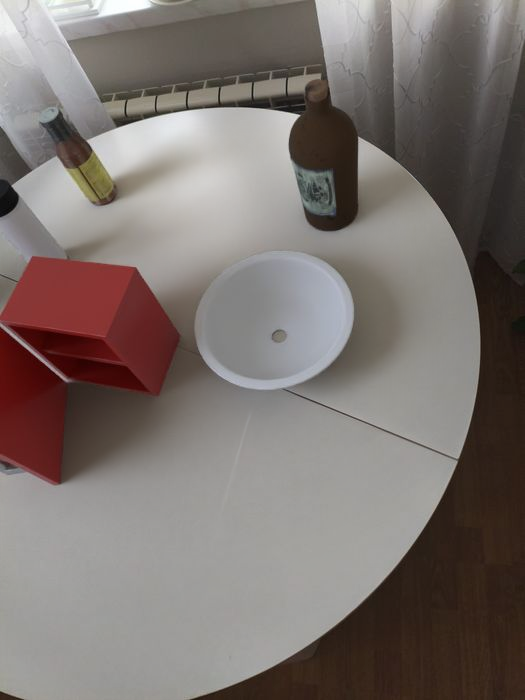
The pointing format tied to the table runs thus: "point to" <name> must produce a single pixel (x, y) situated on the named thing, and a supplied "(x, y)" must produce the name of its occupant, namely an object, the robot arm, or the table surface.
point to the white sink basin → (274, 320)
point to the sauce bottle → (78, 158)
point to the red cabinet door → (30, 413)
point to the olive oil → (325, 160)
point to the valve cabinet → (93, 323)
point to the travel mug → (25, 227)
